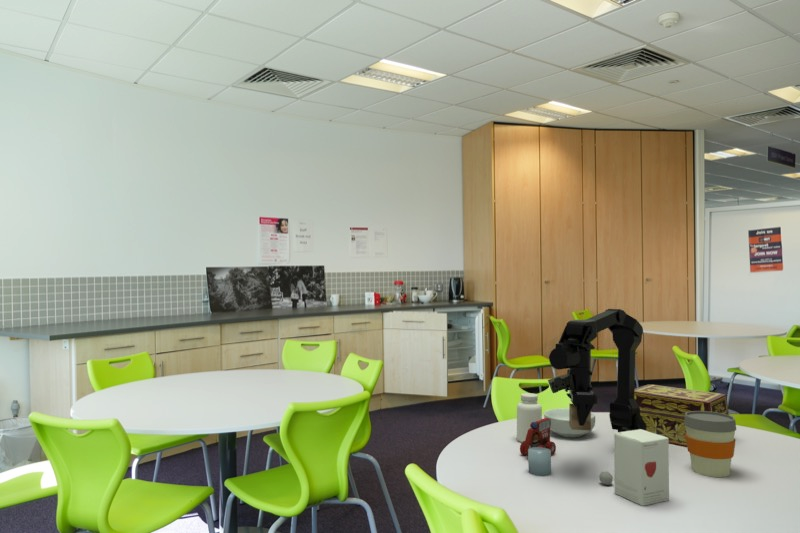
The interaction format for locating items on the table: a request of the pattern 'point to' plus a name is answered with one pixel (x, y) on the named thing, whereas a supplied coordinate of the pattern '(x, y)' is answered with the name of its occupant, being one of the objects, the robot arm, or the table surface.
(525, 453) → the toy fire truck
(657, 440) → the supplement box
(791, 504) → the table surface
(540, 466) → the blue domed cylinder
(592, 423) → the cereal bowl
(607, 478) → the grey ball
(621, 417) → the robot arm
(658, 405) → the decorative box
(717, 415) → the reusable coffee cup
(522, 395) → the pill bottle
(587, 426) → the walnut block
